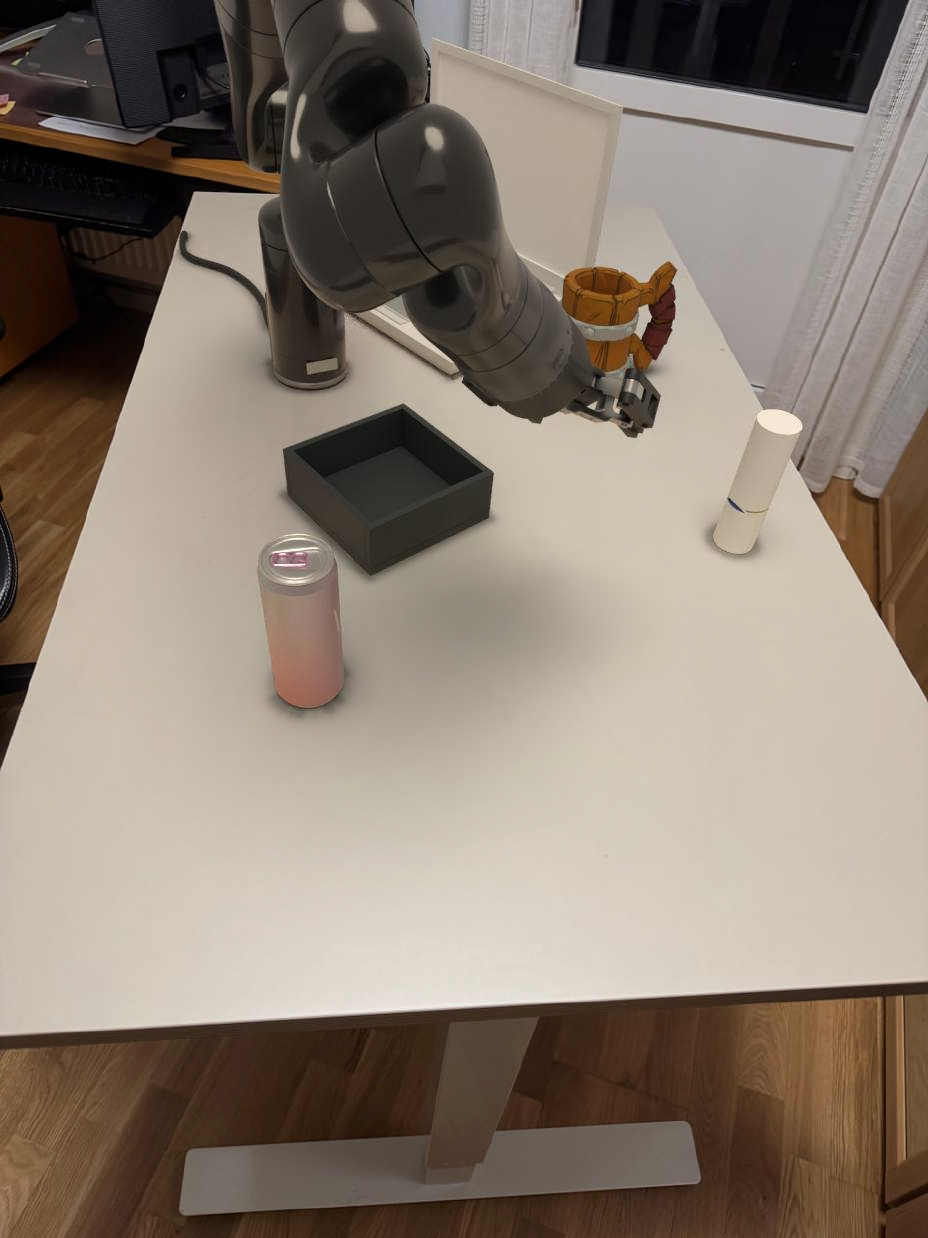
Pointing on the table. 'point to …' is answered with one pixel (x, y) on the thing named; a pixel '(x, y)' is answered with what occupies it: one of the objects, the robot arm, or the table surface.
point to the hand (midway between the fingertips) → (586, 418)
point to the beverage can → (302, 618)
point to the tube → (756, 480)
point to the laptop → (525, 169)
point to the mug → (620, 314)
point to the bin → (387, 486)
